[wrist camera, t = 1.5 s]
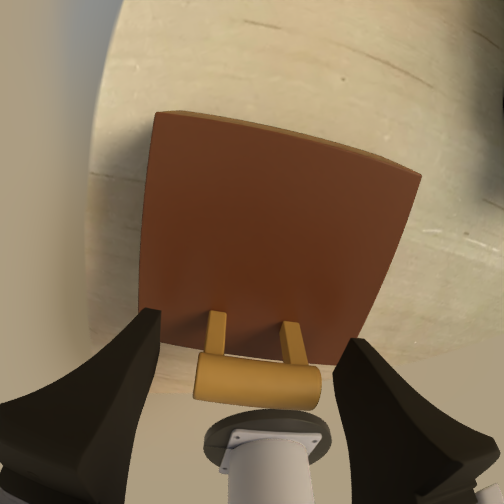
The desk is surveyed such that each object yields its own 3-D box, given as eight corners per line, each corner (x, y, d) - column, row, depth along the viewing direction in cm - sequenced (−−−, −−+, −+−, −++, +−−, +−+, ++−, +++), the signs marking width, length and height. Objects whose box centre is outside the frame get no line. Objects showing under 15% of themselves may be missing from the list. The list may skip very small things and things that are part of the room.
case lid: (339, 358, 15) (364, 435, 10) (141, 329, 14) (112, 410, 9) (415, 171, 11) (493, 212, 7) (159, 111, 10) (102, 117, 5)
